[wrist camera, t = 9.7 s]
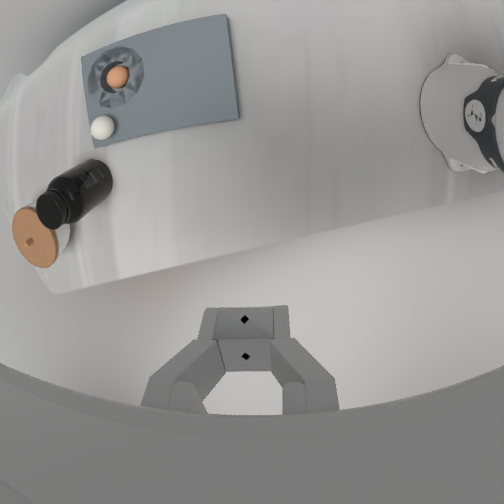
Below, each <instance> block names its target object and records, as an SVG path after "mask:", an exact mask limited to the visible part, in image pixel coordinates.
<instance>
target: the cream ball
mask: <svg viewBox="0 0 504 504" xmlns="http://www.w3.org/2000/svg"><path fill="white" fill-rule="evenodd" d="M113 131H114V122H113V120H112V119H111V118H110V117H108V116H99V117H97V118H96V119H95V120H94V121H93V122H92V124H91V134H92V136H93V137H94V138H96V139H98V140H104V139H107V138H108V137H110V136H111V134H112V133H113Z"/></svg>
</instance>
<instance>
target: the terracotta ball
mask: <svg viewBox="0 0 504 504" xmlns="http://www.w3.org/2000/svg"><path fill="white" fill-rule="evenodd" d="M129 77H130V74H129V70H128V69H127V68H126V67H124V66H116V67H114V68H112V69H111V70H110V71H109V73H108V75H107V83H108V84H109V86H111V87H113V88H121V87H123V86H125V85H126V84H127V82H128V79H129Z"/></svg>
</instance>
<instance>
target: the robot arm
mask: <svg viewBox="0 0 504 504" xmlns="http://www.w3.org/2000/svg"><path fill="white" fill-rule="evenodd" d="M420 109H421V116H422V121H423V124H424V127H425V130H426V132H427V134H428V136H429V138H430V139H431V141H432V142H433V144H434V145H435V146H436V147H437V148H438V149H439V150H440V151H441V152H442V153H443V155H444V156H445V159H446V161H447V164H448V166H449V168H450V169H451V170H452V171H455V172H461V171H466V170H471V169H474V170H476V171H478V172H481V173H484V174H486V172H490V171H494V170H497V169H498V170H499V171H500V172H502V173H504V75H501V74H496V70H494V69H492V68H488V66H486V65H483V64H472V63H471V62H469V61H468V60H466V59H464V58H463V57H461V56H459V55H457V54H449V55H448V56H447V58H446V60H445V62H444V64H443V65H442V66H441V67H439V68H437V69H435V70H434V71H433V72H432V73H431V74H430V75H429V76H428V77H427V79H426V81H425V83H424V85H423V88H422V92H421V99H420ZM460 164H461V165H460ZM229 371H230V372H231V371H232V372H233V371H272V373H273V375H274V376H275V378H276V379H277V380H278V382H279V383H280V385H281V386H282V388H283V414H282V415H220V414H208V413H207V411H206V409H205V407H204V405H203V403H202V401H203V400H204V399H205V398H206V396H207V395H208V394H209V393H210V391H211V390H212V389H213V388H214V387H215V385H216V384H217V383H218V382H219V381H220V379H221V378H222V377H223V376H224V374H225V373H226V372H229ZM0 504H504V365H503V366H501V367H499V368H497V369H494V370H492V371H490V372H487V373H484V374H482V375H479V376H477V377H474V378H471V379H469V380H466V381H463V382H460V383H457V384H454V385H451V386H448V387H445V388H442V389H438V390H435V391H432V392H428V393H424V394H420V395H417V396H412V397H409V398H404V399H400V400H395V401H391V402H386V403H381V404H375V405H370V406H364V407H358V408H351V409H343V410H339V404H338V397H337V391H336V384H335V379H334V377H333V376H332V375H331V374H330V373H328V371H326V370H325V368H324V367H322V365H321V364H320V363H319V362H318V361H317V360H316V359H315V358H314V357H312V355H311V354H310V353H308V351H307V350H306V349H305V348H304V347H303V346H301V344H300V343H299V342H298V341H297V340H296V339H295V338H290V327H289V313H288V306H287V305H282V306H274V309H273V306H268V307H247V308H206V309H205V311H204V315H203V319H202V323H201V327H200V331H199V335H198V338H197V340H193V341H191V342H190V343H189V344H188V345H187V346H186V347H184V348H183V349H182V350H181V351H180V352H179V353H177V354H176V355H175V356H174V357H173V358H172V359H170V361H168V362H167V363H166V364H165V365H164V366H162V367H161V368H160V369H159V370H158V371H156V372H155V373H154V374H153V375H152V376H151V377H150V378H149V381H148V384H147V387H146V390H145V393H144V396H143V399H142V402H141V405H140V406H139V405H134V404H128V403H123V402H118V401H114V400H109V399H104V398H101V397H96V396H92V395H88V394H85V393H81V392H77V391H74V390H71V389H67V388H64V387H61V386H58V385H55V384H52V383H49V382H46V381H43V380H40V379H37V378H34V377H32V376H29V375H27V374H24V373H22V372H19V371H17V370H14V369H12V368H9V367H7V366H5V365H3V364H1V363H0Z"/></svg>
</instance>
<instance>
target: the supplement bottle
mask: <svg viewBox="0 0 504 504" xmlns="http://www.w3.org/2000/svg"><path fill="white" fill-rule="evenodd" d="M111 186H112V180H111V175H110V173H109V171H108V169H107V168H106V166H105V165H104V164H102V163H101V162H99V161H96V160H88V161H86V162H83V163H81V164H79V165H77V166H76V167H74V168H72V169H70V170H68V171H66V172H64V173H63V174H61V175H59V176H57V177H56V178H54V179H53V180H52V181H51V182H50V184H49V185H48V188H47V191H46V192H45V193H44V194H42V195H41V196H40V197H39V198H38V200H37V203H36V213H37V216H38V218H39V220H40V222H41V223H42V224H43V225H44V226H45V227H47V228H48V229H50V230H51V229H52V230H56V229H58V228H59V227H60V226H62V225H64V224H73V223H76V222H77V221H79V220H80V219H81V218H82V217H84V216H85V215H86V214H87V213H88V212H89V211H91V210H92V209H93V208H94V207H95V206H97V205H98V204H99V203H100V202H102V201H103V200H104V199H105V198H106V197H107V196H108V195H109V193H110V190H111Z"/></svg>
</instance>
